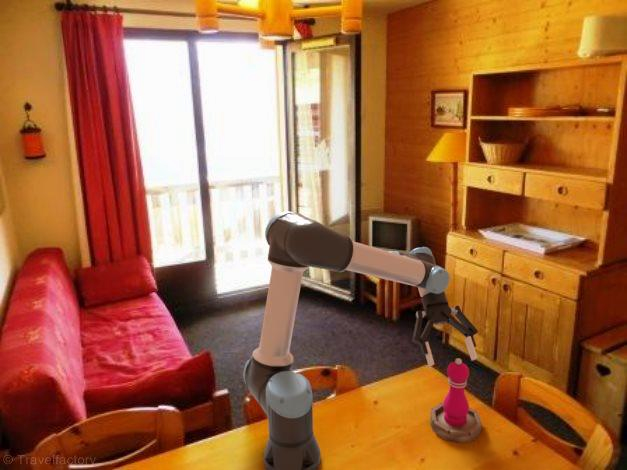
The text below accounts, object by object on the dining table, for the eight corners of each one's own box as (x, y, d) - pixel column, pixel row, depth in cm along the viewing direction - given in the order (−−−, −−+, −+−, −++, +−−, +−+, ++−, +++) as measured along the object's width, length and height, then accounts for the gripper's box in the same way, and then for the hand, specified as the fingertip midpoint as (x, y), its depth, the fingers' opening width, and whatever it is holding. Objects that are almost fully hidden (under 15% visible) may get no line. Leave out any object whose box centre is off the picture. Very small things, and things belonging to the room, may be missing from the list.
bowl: (433, 440, 130) (433, 431, 129) (428, 409, 143) (428, 400, 143) (485, 444, 128) (486, 434, 127) (475, 412, 142) (475, 403, 141)
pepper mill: (469, 429, 131) (474, 366, 126) (443, 426, 133) (446, 364, 127) (466, 413, 138) (470, 352, 133) (441, 410, 140) (444, 351, 134)
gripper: (464, 295, 151) (486, 360, 141) (391, 303, 146) (409, 371, 136) (474, 285, 145) (498, 353, 135) (398, 294, 140) (417, 364, 130)
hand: (453, 362), depth 135 cm, fingers open, 13 cm apart
